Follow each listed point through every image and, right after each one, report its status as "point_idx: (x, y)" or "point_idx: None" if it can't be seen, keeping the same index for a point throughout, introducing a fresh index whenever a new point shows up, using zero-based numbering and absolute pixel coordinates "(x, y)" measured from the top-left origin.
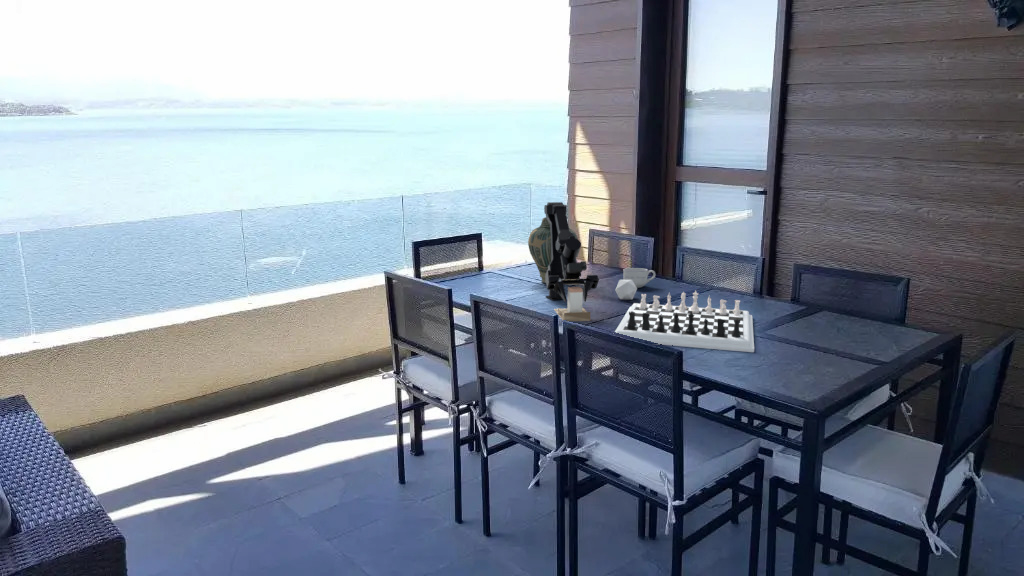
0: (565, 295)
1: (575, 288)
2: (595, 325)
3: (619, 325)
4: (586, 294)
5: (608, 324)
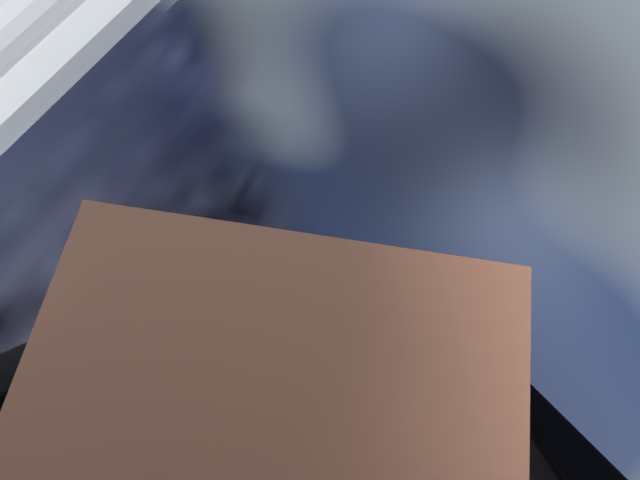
0: (558, 456)
1: (247, 447)
2: (233, 145)
3: (104, 15)
4: (13, 355)
5: (121, 146)
